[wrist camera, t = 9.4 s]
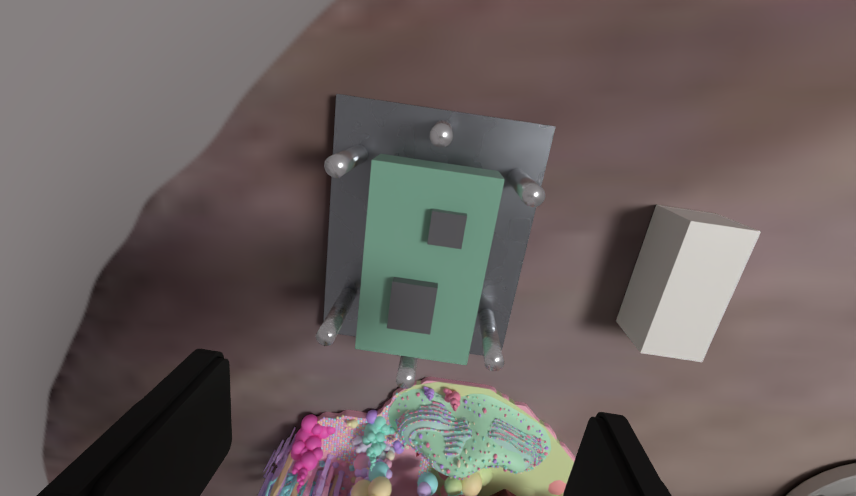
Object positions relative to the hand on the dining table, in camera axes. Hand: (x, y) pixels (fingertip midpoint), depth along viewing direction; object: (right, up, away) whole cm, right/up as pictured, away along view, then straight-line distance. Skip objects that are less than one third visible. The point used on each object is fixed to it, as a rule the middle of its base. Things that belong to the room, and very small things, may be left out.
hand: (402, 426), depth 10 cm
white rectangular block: (+15, +3, +15) cm, 22 cm away
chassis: (+1, +5, +15) cm, 16 cm away
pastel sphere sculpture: (0, -15, +23) cm, 28 cm away
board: (0, +4, +11) cm, 12 cm away
